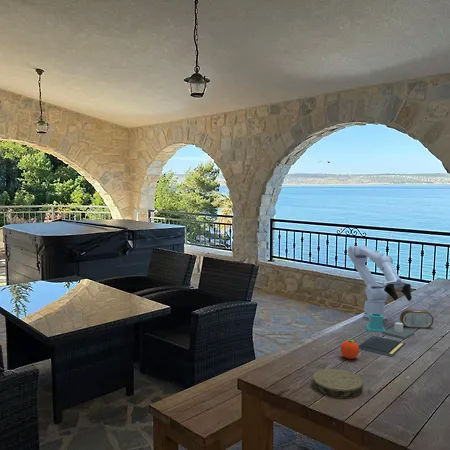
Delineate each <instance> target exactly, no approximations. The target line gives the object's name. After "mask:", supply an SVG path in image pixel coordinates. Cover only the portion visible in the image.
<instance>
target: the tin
mask: <svg viewBox="0 0 450 450" xmlns="http://www.w3.org/2000/svg"><path fill="white" fill-rule="evenodd" d="M399 320H400V323H403V326H405V327H407V328H413V329H428V328H431V326H433V324H434V316H433V315H432V313H430V311H428V310H425V309H424V310H423V309H422V310H421V309H405V310H403V311H402V312H401V314H400V315H399Z"/></svg>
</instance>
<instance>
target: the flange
mask: <svg viewBox="0 0 450 450" xmlns="http://www.w3.org/2000/svg"><path fill="white" fill-rule="evenodd" d="M365 328H366V330H367V332H375V333H376V332H377V333H383V331H385V330H386V329H385V326H384V319H383V316H382V314H376V313H369V318H368V323H367V324H366V323H365Z"/></svg>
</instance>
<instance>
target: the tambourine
mask: <svg viewBox="0 0 450 450" xmlns="http://www.w3.org/2000/svg"><path fill="white" fill-rule="evenodd" d="M363 385H364V381H363V380H362V377H360V376H359V375H358V374H356V373H353V372H351V371H347V370H344V369H338V368H323V369H320V370H316V371H315V372H314V373H313V375H312V386H313V388H314V389H315V390H316V391H317V392H319V393H321V394H323V395H326V396H329V397H332V398H338V399H350V398H356V397H358V396H360V395H361V394H363V390H364V389H363Z"/></svg>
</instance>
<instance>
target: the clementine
mask: <svg viewBox="0 0 450 450" xmlns="http://www.w3.org/2000/svg"><path fill="white" fill-rule="evenodd" d="M358 346H359V344H358V343H357V342H356V340H354V339H349V340H348V339H347V340H345V341H344V342H342V343H341V345H340V352H341V354H342V356H343V357H345V358H346V359H349V360H350V359H351V360H352V359H353V360H354V359H355V358H357V357H358V356H359V353H360V349H359V347H358Z"/></svg>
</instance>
